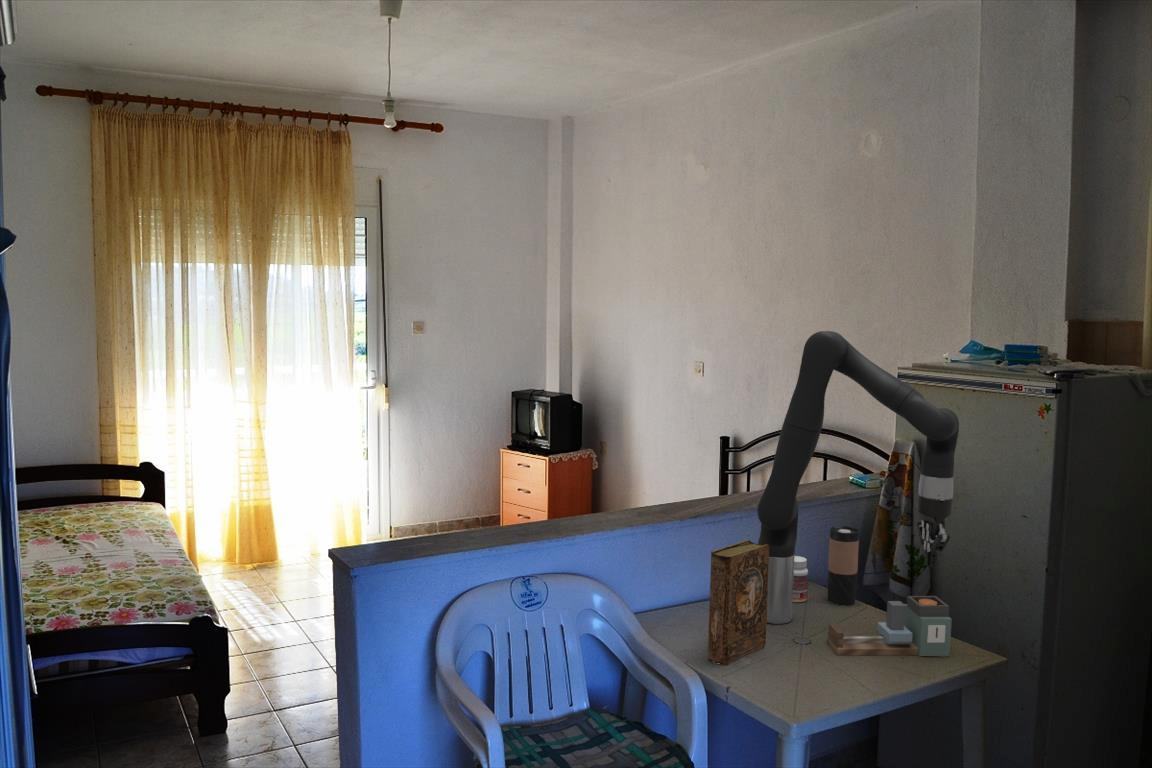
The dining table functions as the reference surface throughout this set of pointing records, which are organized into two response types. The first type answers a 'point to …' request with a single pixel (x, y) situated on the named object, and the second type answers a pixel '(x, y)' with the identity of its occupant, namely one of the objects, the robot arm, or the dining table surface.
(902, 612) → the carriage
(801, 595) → the pill bottle
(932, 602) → the button
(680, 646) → the dining table surface
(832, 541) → the travel mug
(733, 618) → the book
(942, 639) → the cabinet
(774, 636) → the dining table surface
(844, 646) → the rail stand
